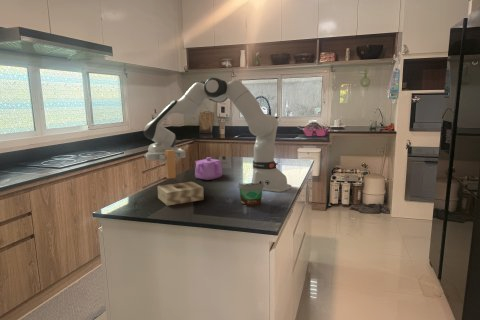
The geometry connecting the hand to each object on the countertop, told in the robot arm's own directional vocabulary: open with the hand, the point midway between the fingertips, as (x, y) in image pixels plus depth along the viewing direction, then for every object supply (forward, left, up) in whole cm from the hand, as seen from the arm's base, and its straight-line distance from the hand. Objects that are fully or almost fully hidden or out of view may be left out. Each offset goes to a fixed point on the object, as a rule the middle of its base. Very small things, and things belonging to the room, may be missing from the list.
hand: (170, 157), depth 170 cm
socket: (-11, +5, -18) cm, 22 cm away
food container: (-45, -7, -19) cm, 49 cm away
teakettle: (+9, -39, -19) cm, 44 cm away
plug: (+1, 0, -10) cm, 11 cm away
